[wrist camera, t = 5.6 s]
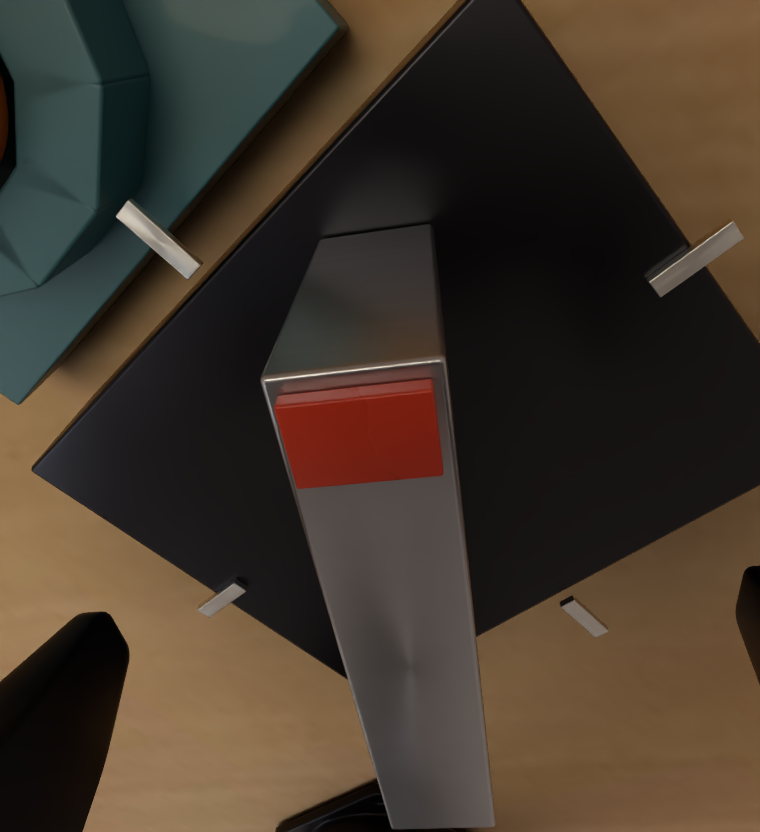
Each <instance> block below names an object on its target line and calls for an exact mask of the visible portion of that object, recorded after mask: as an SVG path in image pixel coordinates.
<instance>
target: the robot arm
mask: <svg viewBox="0 0 760 832" xmlns="http://www.w3.org/2000/svg"><path fill="white" fill-rule="evenodd" d="M736 620H737V624H738V627H739V630H740V632H741V635H742V638H743V641H744V643H745V646H746V649H747V651H748V654H749V657H750V660H751V662H752V665H753V668H754V670H755V673H756V676H757V679H758V681H759V684H760V566H751V567H748V568H747V569H746V570H745V572H744V574H743V578H742V582H741V586H740V591H739V595H738V599H737V603H736ZM128 664H129V648H128V645H127V642H126V641H125V639H124V637H123V636H122V634H121V632H120V630H119V629H118V627H117V625H116V623H115V622H114V620H113V618H112V617H111V615H110V614H108V613H106V612H88V613H81V614H79V615H77V616H75V617H74V618H73V619H72V620H70V621H69V622H68V623H67V624H66V625H65V626H64V627H62V628H61V629H60V630H59V631H58V632H57V633H56V634H54V635H53V636H52V637H51V638H50V639H49V640H48V641H46V642H45V643H44V644H43V645H42V646H41V647H40V648H38V649H37V650H36V651H35V652H34V653H33V654H31V655H30V656H29V657H28V658H27V659H26V660H25V661H23V662H22V663H21V664H20V665H19V666H18V667H17V668H15V669H14V670H13V671H12V672H11V673H10V674H9V675H7V676H6V677H5V678H4V679H3V680H2V681H1V682H0V832H82V831H83V828H84V825H85V822H86V819H87V816H88V813H89V811H90V808H91V805H92V802H93V799H94V796H95V793H96V790H97V787H98V784H99V781H100V777H101V774H102V771H103V768H104V765H105V761H106V757H107V753H108V750H109V745H110V741H111V737H112V733H113V728H114V724H115V720H116V715H117V711H118V707H119V702H120V698H121V694H122V690H123V685H124V681H125V677H126V672H127V668H128ZM275 832H465V831H464V830H462V829H460V828H431V829H392V828H391V825H390V821H389V818H388V815H387V811H386V808H385V804H384V801H383V798H382V794H381V791H380V787H379V784H372V785H369V786H367V787H365V788H362V789H360V790H358V791H356V792H354V793H351V794H349V795H347V796H345V797H343V798H340V799H338V800H336V801H334V802H331V803H329V804H327V805H325V806H323V807H320V808H318V809H316V810H314V811H312V812H309V813H307V814H305V815H303V816H300V817H298V818H296V819H294V820H292V821H289V822H287V823H285V824H283V825H281V826H278V827H277V828H276V831H275Z"/></svg>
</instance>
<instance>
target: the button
mask: <svg viewBox="0 0 760 832" xmlns="http://www.w3.org/2000/svg"><path fill="white" fill-rule="evenodd" d="M8 120H9V115H8V105H7V96H6V92H5V87H4V83H3V78H2V75H1V72H0V163H1V160H2V157H3V154H4V151H5V148H6V143H7V137H8Z"/></svg>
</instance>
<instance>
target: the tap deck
mask: <svg viewBox="0 0 760 832" xmlns="http://www.w3.org/2000/svg"><path fill="white" fill-rule="evenodd" d="M116 217H117V218H118V219H119V220H120V221H121V222H122V223H124V224H125V225H126V226H127V227H128V228H129V229H130V230H132V231H133V232H134V233H135V234H136V235H137V236H138V237H140V238H141V239H142V240H143V241H144V242H145V243H146V244H148V245H149V246H150V247H151V248H152V249H153V250H154V251H156V252H157V253H158V254H159V255H160V256H161V257H162V258H163V259H165V260H166V261H167V262H168V263H169V264H170V265H171V266H173V267H174V268H175V269H176V270H177V271H178V272H179V273H181V274H182V275H183V276H184V277H185V278H186V279H189V278H190V277H191V276H192V275H193V274H194V273H195V272H196V271H197V270H198V269H199V267H200V266H201V265H202V264H203V262H202V261H201V260H200V259H199V258H198V257H197V256H196V255H194V254H193V253H192V252H191V251H190V250H189V249H188V248H187V247H186V246H184V245H183V244H182V243H181V242H180V241H179V240H178V239H177V238H176V237H174V236H173V235H172V234H171V233H170V232H169V231H168V230H167V229H166V228H164V227H163V226H162V225H161V224H160V223H159V222H158V221H157V220H156V219H154V218H153V217H152V216H151V215H150V214H149V213H148V212H147V211H146V210H144V209H143V208H142V207H141V206H140V205H139V204H138V203H137V202H136V201H134V200H133V199H132V198H131V199H129V200H127V202H126V203H125V204H124V205H123V207H122V208H121V209H120V210H119V212H118V213H117V214H116ZM426 224H429V225H432V227H433V228H434V238H435V247H436V257H437V266H438V276H439V285H440V295H441V305H442V314H443V324H444V333H445V343H446V352H447V362H448V372H449V381H450V391H451V400H452V410H453V419H454V429H455V438H456V448H457V458H458V467H459V477H460V486H461V496H462V505H463V515H464V524H465V534H466V544H467V553H468V563H469V572H470V582H471V591H472V601H473V610H474V620H475V630H476V637H477V636H479V635H481V634H483V633H485V632H486V631H488V630H490V629H492V628H494V627H496V626H498V625H500V624H501V623H503V622H505V621H507V620H509V619H511V618H513V617H514V616H516V615H518V614H520V613H522V612H524V611H526V610H528V609H529V608H531V607H533V606H535V605H537V604H539V603H541V602H542V601H544V600H546V599H548V598H550V597H552V596H554V595H556V594H557V593H559V592H561V591H563V590H565V589H567V588H569V587H571V586H572V585H574V584H576V583H578V582H580V581H582V580H584V579H585V578H587V577H589V576H591V575H593V574H595V573H597V572H599V571H600V570H602V569H604V568H606V567H608V566H610V565H612V564H613V563H615V562H617V561H619V560H621V559H623V558H625V557H627V556H628V555H630V554H632V553H634V552H636V551H638V550H640V549H642V548H643V547H645V546H647V545H649V544H651V543H653V542H655V541H656V540H658V539H660V538H662V537H664V536H666V535H668V534H670V533H671V532H673V531H675V530H677V529H679V528H681V527H683V526H684V525H686V524H688V523H690V522H692V521H694V520H696V519H698V518H699V517H701V516H703V515H705V514H707V513H709V512H711V511H713V510H714V509H716V508H718V507H720V506H722V505H724V504H726V503H727V502H729V501H731V500H733V499H735V498H737V497H739V496H741V495H742V494H744V493H746V492H748V491H750V490H752V489H754V488H756V487H757V486H759V485H760V343H759V342H758V340H757V339H756V338H755V336H754V335H753V333H752V332H751V330H750V329H749V327H748V326H747V325H746V323H745V322H744V320H743V319H742V317H741V316H740V315H739V313H738V312H737V310H736V309H735V307H734V306H733V304H732V303H731V302H730V300H729V299H728V297H727V296H726V294H725V293H724V292H723V290H722V289H721V287H720V286H719V284H718V283H717V281H716V280H715V279H714V277H713V276H712V274H711V273H710V271H709V270H708V268H707V267H706V265H707V264H709V263H710V262H711V261H713V260H714V259H716V258H717V257H718V256H720V255H721V254H723V253H724V252H725V251H727V250H728V249H730V248H731V247H733V246H734V245H735V244H737V243H738V242H740V241H741V240H742V239H744V236H743V235H742V233H741V232H740V230H739V229H738V227H737V226H736V224H735V222H734V221H733V220H731V219H727V220H726V221H724V222H723V223H722V224H720V225H719V226H718V227H716V228H715V229H713V230H712V231H711V232H709V233H708V234H707V235H705V236H704V237H703V238H701V239H700V240H698V241H697V242H696V243H694V244H693V245H691V244H690V243H689V241H688V240H687V238H686V237H685V235H684V234H683V233H682V231H681V230H680V228H679V227H678V225H677V224H676V222H675V221H674V220H673V218H672V217H671V215H670V214H669V212H668V211H667V209H666V208H665V207H664V205H663V204H662V202H661V201H660V199H659V198H658V197H657V195H656V194H655V192H654V191H653V189H652V188H651V186H650V185H649V184H648V182H647V181H646V179H645V178H644V176H643V175H642V174H641V172H640V171H639V169H638V168H637V166H636V165H635V163H634V162H633V161H632V159H631V158H630V156H629V155H628V153H627V152H626V150H625V149H624V148H623V146H622V145H621V143H620V142H619V140H618V139H617V138H616V136H615V135H614V133H613V132H612V130H611V129H610V127H609V126H608V125H607V123H606V122H605V120H604V119H603V117H602V116H601V115H600V113H599V112H598V110H597V109H596V107H595V106H594V104H593V103H592V102H591V100H590V99H589V97H588V96H587V94H586V93H585V91H584V90H583V89H582V87H581V86H580V84H579V83H578V81H577V80H576V79H575V77H574V76H573V74H572V73H571V71H570V70H569V68H568V67H567V66H566V64H565V63H564V61H563V60H562V58H561V57H560V56H559V54H558V53H557V51H556V50H555V48H554V47H553V45H552V44H551V43H550V41H549V40H548V38H547V37H546V35H545V34H544V32H543V31H542V30H541V28H540V27H539V25H538V24H537V22H536V21H535V20H534V18H533V17H532V15H531V14H530V12H529V11H528V9H527V8H526V7H525V5H524V4H523V2H522V1H521V0H458V1H457V2H456V3H455V4H454V5H453V7H452V8H451V9H450V10H449V11H448V12H447V13H446V14H445V15H444V16H443V17H442V18H441V20H440V21H439V22H438V23H437V24H436V25H435V26H434V27H433V28H432V29H431V30H430V31H429V33H428V34H427V35H426V36H425V37H424V38H423V39H422V40H421V41H420V42H419V43H418V44H417V45H416V47H415V48H414V49H413V50H412V51H411V52H410V53H409V54H408V55H407V56H406V57H405V58H404V60H403V61H402V62H401V63H400V64H399V65H398V66H397V67H396V68H395V69H394V70H393V71H392V73H391V74H390V75H389V76H388V77H387V78H386V79H385V80H384V81H383V82H382V83H381V84H380V86H379V87H378V88H377V89H376V90H375V91H374V92H373V93H372V94H371V95H370V96H369V97H368V99H367V100H366V101H365V102H364V103H363V104H362V105H361V106H360V107H359V108H358V109H357V110H356V112H355V113H354V114H353V115H352V116H351V117H350V118H349V119H348V120H347V121H346V122H345V123H344V125H343V126H342V127H341V128H340V129H339V130H338V131H337V132H336V133H335V134H334V135H333V136H332V137H331V139H330V140H329V141H328V142H327V143H326V144H325V145H324V146H323V147H322V148H321V149H320V150H319V152H318V153H317V154H316V155H315V156H314V157H313V158H312V159H311V160H310V161H309V162H308V163H307V165H306V166H305V167H304V168H303V169H302V170H301V171H300V172H299V173H298V174H297V175H296V176H295V178H294V179H293V180H292V181H291V182H290V183H289V184H288V185H287V186H286V187H285V188H284V189H283V191H282V192H281V193H280V194H279V195H278V196H277V197H276V198H275V199H274V200H273V201H272V202H271V204H270V205H269V206H268V207H267V208H266V209H265V210H264V211H263V212H262V213H261V214H260V215H259V217H258V218H257V219H256V220H255V221H254V222H253V223H252V224H251V225H250V226H249V227H248V228H247V230H246V231H245V232H244V233H243V234H242V235H241V236H240V237H239V238H238V239H237V240H236V241H235V242H234V244H233V245H232V246H231V247H230V248H229V249H228V250H227V251H226V252H225V253H224V254H223V255H222V257H221V258H220V259H219V260H218V261H217V262H216V263H215V264H214V265H213V266H212V267H211V268H210V270H209V271H208V272H207V273H206V274H205V275H204V276H203V277H202V278H201V279H200V280H199V281H198V283H197V284H196V285H195V286H194V287H193V288H192V289H191V290H190V291H189V292H188V293H187V294H186V296H185V297H184V298H183V299H182V300H181V301H180V302H179V303H178V304H177V305H176V306H175V307H174V309H173V310H172V311H171V312H170V313H169V314H168V315H167V316H166V317H165V318H164V319H163V320H162V322H161V323H160V324H159V325H158V326H157V327H156V328H155V329H154V330H153V331H152V332H151V333H150V334H149V336H148V337H147V338H146V339H145V340H144V341H143V342H142V343H141V344H140V345H139V346H138V347H137V349H136V350H135V351H134V352H133V353H132V354H131V355H130V356H129V357H128V358H127V359H126V360H125V362H124V363H123V364H122V365H121V366H120V367H119V368H118V369H117V370H116V371H115V372H114V373H113V375H112V376H111V377H110V378H109V379H108V380H107V381H106V382H105V383H104V384H103V385H102V386H101V388H100V389H99V390H98V391H97V392H96V393H95V394H94V395H93V396H92V397H91V399H90V400H89V401H88V402H87V403H86V404H85V406H84V407H83V408H82V409H81V410H80V411H79V412H78V414H77V415H76V416H75V417H74V418H73V419H72V421H71V422H70V423H69V424H68V425H67V426H66V428H65V429H64V430H63V431H62V432H61V433H60V435H59V436H58V437H57V438H56V439H55V440H54V442H53V443H52V444H51V445H50V446H49V447H48V448H47V450H46V451H45V452H44V453H43V454H42V455H41V457H40V458H39V459H38V460H37V461H36V462H35V464H34V465H33V466H32V469H31V470H32V471H33V472H34V473H35V474H37V475H38V476H40V477H41V478H43V479H44V480H46V481H47V482H49V483H50V484H52V485H53V486H55V487H56V488H58V489H59V490H61V491H62V492H64V493H66V494H67V495H69V496H70V497H72V498H73V499H75V500H76V501H78V502H79V503H81V504H82V505H84V506H85V507H87V508H88V509H90V510H91V511H93V512H94V513H96V514H97V515H99V516H100V517H102V518H103V519H105V520H106V521H108V522H109V523H111V524H113V525H114V526H116V527H117V528H119V529H120V530H122V531H123V532H125V533H126V534H128V535H129V536H131V537H132V538H134V539H135V540H137V541H138V542H140V543H141V544H143V545H144V546H146V547H147V548H149V549H150V550H152V551H153V552H155V553H156V554H158V555H160V556H161V557H163V558H164V559H166V560H167V561H169V562H170V563H172V564H173V565H175V566H176V567H178V568H179V569H181V570H182V571H184V572H185V573H187V574H188V575H190V576H191V577H193V578H194V579H196V580H197V581H199V582H200V583H202V584H203V585H205V586H207V587H208V588H210V589H211V590H213V591H214V592H216V593H215V594H214V595H212V596H211V597H210V598H208V599H207V600H206V601H204V602H203V603H201V604H200V605H199V607H198V611H199V612H201V613H202V614H204V615H205V616H207V617H211V616H212V615H214V614H215V613H216V612H218V611H219V610H221V609H222V608H224V607H225V606H226V605H228V604H229V603H232V604H234V605H235V606H237V607H238V608H240V609H241V610H243V611H244V612H246V613H247V614H249V615H250V616H252V617H254V618H255V619H257V620H258V621H260V622H261V623H263V624H264V625H266V626H267V627H269V628H270V629H272V630H273V631H275V632H276V633H278V634H279V635H281V636H282V637H284V638H285V639H287V640H288V641H290V642H291V643H293V644H294V645H296V646H297V647H299V648H300V649H302V650H304V651H305V652H307V653H308V654H310V655H311V656H313V657H314V658H316V659H317V660H319V661H320V662H322V663H323V664H325V665H326V666H328V667H329V668H331V669H332V670H334V671H335V672H337V673H338V674H340V675H341V676H343V677H344V678H346V679H347V680H348V678H347V675H346V671H345V668H344V665H343V661H342V658H341V654H340V651H339V647H338V644H337V641H336V637H335V634H334V630H333V627H332V624H331V620H330V617H329V613H328V610H327V607H326V603H325V600H324V596H323V593H322V589H321V586H320V583H319V579H318V576H317V572H316V569H315V566H314V562H313V559H312V555H311V552H310V549H309V545H308V542H307V538H306V535H305V531H304V528H303V525H302V521H301V518H300V514H299V511H298V508H297V504H296V501H295V497H294V494H293V491H292V487H291V484H290V480H289V477H288V473H287V470H286V467H285V463H284V460H283V456H282V453H281V450H280V446H279V443H278V439H277V436H276V433H275V429H274V426H273V422H272V419H271V415H270V412H269V409H268V405H267V402H266V398H265V395H264V392H263V388H262V385H261V381H260V380H261V375H262V373H263V371H264V368H265V366H266V364H267V361H268V359H269V357H270V354H271V352H272V350H273V347H274V345H275V343H276V340H277V338H278V336H279V333H280V331H281V329H282V326H283V324H284V322H285V320H286V317H287V315H288V313H289V310H290V308H291V306H292V303H293V301H294V299H295V296H296V294H297V292H298V289H299V287H300V285H301V282H302V280H303V278H304V275H305V273H306V271H307V268H308V266H309V264H310V261H311V259H312V257H313V254H314V252H315V250H316V248H317V245H318V243H319V241H320V240H322V239H327V238H334V237H341V236H348V235H355V234H362V233H369V232H376V231H384V230H391V229H398V228H405V227H412V226H419V225H426ZM560 605H561V608H562V609H564V610H565V611H566V612H567V613H568V614H569V615H570V616H572V617H573V618H574V619H575V620H576V621H577V622H578V623H579V624H581V625H582V626H583V627H584V628H585V629H586V630H587V631H589V632H590V633H591V634H592V635H593V636H594V637H598V636H600V635H602V634H604V633H606V632H608V627H607V626H606V625H605V624H604V623H603V622H602V621H601V620H600V619H599V618H598V617H596V616H595V615H594V614H593V613H592V612H591V611H590V610H589V609H588V608H586V607H585V606H584V605H583V604H582V603H581V602H580V601H579V600H578V599H576V598H575V597H574V596H573V595H572V596H570V597H568V598H566V599H564V600H562V601H561V602H560Z"/></svg>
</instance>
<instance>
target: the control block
mask: <svg viewBox="0 0 760 832" xmlns="http://www.w3.org/2000/svg"><path fill="white" fill-rule="evenodd" d="M347 30H348V24H347V23H346V22H345V20H344V19H343V18H342V17H341V16H340V14H339V13H338V12H337V11H336V10H335V8H334V7H333V6H332V5H331V4H330V2H329V1H328V0H0V72H1V75H2V78H3V83H4V87H5V92H6V96H7V105H8V115H9V120H8V137H7V143H6V148H5V151H4V154H3V157H2V160H1V163H0V393H1V394H3V395H4V396H6V397H7V398H8V399H10V400H11V401H13V402H14V403H16V404H17V405H19V404H21V403H22V402H23V401H24V400H25V399H26V398H27V397H28V396H29V395H30V394H31V393H32V392H33V391H35V390H36V389H37V388H38V387H39V386H40V385H41V384H42V383H43V382H44V381H45V380H46V379H47V378H48V377H49V376H50V375H51V374H52V373H53V372H54V371H55V370H56V369H57V368H58V367H59V366H60V365H61V363H62V362H63V361H64V360H65V359H66V358H67V356H68V355H69V354H70V353H71V352H72V351H73V349H74V348H75V347H76V346H77V345H78V344H79V342H80V341H81V340H82V339H83V338H84V337H85V335H86V334H87V333H88V332H89V331H90V330H91V328H92V327H93V326H94V325H95V324H96V323H97V321H98V320H99V319H100V318H101V317H102V316H103V314H104V313H105V312H106V311H107V310H108V309H109V307H110V306H111V305H112V304H113V303H114V302H115V300H116V299H117V298H118V297H119V296H120V295H121V293H122V292H123V291H124V290H125V289H126V288H127V286H128V285H129V284H130V283H131V282H132V281H133V279H134V278H135V277H136V276H137V275H138V274H139V272H140V271H141V270H142V269H143V268H144V267H145V265H146V264H147V263H148V262H149V261H150V260H151V258H152V257H153V256H154V255H155V254H156V253H157V252H156V251H154V250H153V249H152V248H151V247H150V246H149V245H148V244H146V243H145V242H144V241H143V240H142V239H141V238H140V237H138V236H137V235H136V234H135V233H134V232H133V231H132V230H130V229H129V228H128V227H127V226H126V225H125V224H124V223H122V222H121V221H120V220H119V219H118V218H117V217H116V214H117V213H118V212H119V210H120V209H121V208H122V207H123V205H124V204H125V203H126V202H127V200H129V199H131V198H132V199H133V200H134V201H136V202H137V203H138V204H139V205H140V206H141V207H142V208H143V209H144V210H146V211H147V212H148V213H149V214H150V215H151V216H152V217H153V218H154V219H156V220H157V221H158V222H159V223H160V224H161V225H162V226H163V227H164V228H166V229H167V230H168V231H169V232H170V233H171V234H173V233H174V232H175V230H176V229H177V228H178V227H179V226H180V225H181V223H182V222H183V221H184V220H185V219H186V218H187V216H188V215H189V214H190V213H191V212H192V211H193V209H194V208H195V207H196V206H197V205H198V204H199V202H200V201H201V200H202V199H203V198H204V197H205V195H206V194H207V193H208V192H209V191H210V190H211V188H212V187H213V186H214V185H215V184H216V183H217V181H218V180H219V179H220V178H221V177H222V176H223V174H224V173H225V172H226V171H227V170H228V169H229V167H230V166H231V165H232V164H233V163H234V162H235V160H236V159H237V158H238V157H239V156H240V155H241V153H242V152H243V151H244V150H245V149H246V148H247V146H248V145H249V144H250V143H251V142H252V141H253V139H254V138H255V137H256V136H257V135H258V134H259V132H260V131H261V130H262V129H263V128H264V127H265V125H266V124H267V123H268V122H269V121H270V120H271V118H272V117H273V116H274V115H275V114H276V113H277V111H278V110H279V109H280V108H281V107H282V106H283V104H284V103H285V102H286V101H287V100H288V99H289V97H290V96H291V95H292V94H293V93H294V92H295V90H296V89H297V88H298V87H299V86H300V85H301V83H302V82H303V81H304V80H305V79H306V78H307V76H308V75H309V74H310V73H311V72H312V71H313V69H314V68H315V67H316V66H317V65H318V64H319V62H320V61H321V60H322V59H323V58H324V57H325V55H326V54H327V53H328V52H329V51H330V50H331V48H332V47H333V46H334V45H335V44H336V43H337V41H338V40H339V39H340V38H341V37H342V36H343V34H344V33H345V32H346V31H347Z"/></svg>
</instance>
